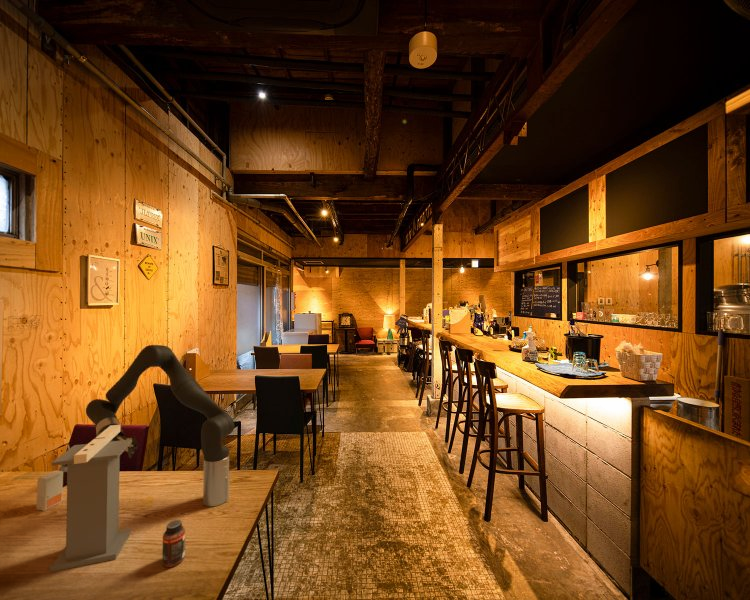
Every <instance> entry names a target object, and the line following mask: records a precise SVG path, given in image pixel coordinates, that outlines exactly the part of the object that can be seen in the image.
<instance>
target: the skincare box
mask: <svg viewBox="0 0 750 600" xmlns="http://www.w3.org/2000/svg"><path fill="white" fill-rule="evenodd" d="M63 488H64V487H63V471H59V470H53V471H51V472H47V473H46V474H44V475H41V476H39V477H37V486H36V510H38V511H47V510H49V509H51V508H52V507H54V506H56V505H59V504H60V503H62V502H63V491H64V489H63Z"/></svg>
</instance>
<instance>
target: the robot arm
mask: <svg viewBox="0 0 750 600" xmlns="http://www.w3.org/2000/svg"><path fill="white" fill-rule="evenodd" d="M149 368H160V369H161V370H162V371H163V372H164V373H165V374H166V375H167V376H168V379H169V384H170V389H171V392H172V394H173V395H174V396H175V398H176V399H177V401H179V402H180V403H181V404H182V405H183V406H185V407H187V408H190V409H191V410H194V411H196V412H199V413H200V414H203V415H204V417H206V418H207V419H206V420H205V421H204V422H203V423H202V426H201V429H200V442H201V452H202V454H203V475H202V476H203V479H202V480H203V482H202V483H203V484H202V485H203V487H202V489H203V490H202V493H203V495H202V503H203V504H202V505H204V506H206V507H217V506H220V505H222V504H225V503H227V501H229V498H228V497H230V474H231V473H230V448H229V446H227V445H225V444H222V440H223V439H224V438H226V437H227V436H229V435H231V434H232V433H233V432H234V429H235V422H234V419H233V418H232V416H231V415H230V414H229V413H228V412H227V411H226V410H225V409H223V408H222V407H221V406H220V405H219V404H218V403H217V402H216V401H214V399H213V398H212V397H211V396H210V395H209V394H208V392H206V391H205V389H204V388H203V387H202V386H201V385H200V384H199V382H198V381H197V380H196V379H195V378H194V377H193V376H192V375H191V374H190V372H189V371H188V370H187V369H186V368H185V367H184V366H183V365H182V363H181V362H180V360H179V359H178V357H177V356H176V355H175V353H174V352H173V350H172V349H171V348H170V347H168V346H166V345H162V344H160V345H159V344H158V345H157V344H151V345H147V346H145V347H143V348H142V350H141V351H140V352H139V353H138V355H137V356H136V357H135V359H134V360H133V361H132V363H131V364H130V365H129V366H128V368H127V370H126V371H125V372H124V373H123V375H122V376H121V377H120V378H119V380H117V382H115V383H114V384H113V386H111V387H110V388H109V389H108V391H106V393H105V399H106V400H105V399H100V398H95V399H93V400H91V401H89V403H87V405H86V408H85V414H86V416H87V418H88V419H89V420H90V421H91V422H92V423H93V424H94V425H95V431H96V432H95V433H96V437H97V436H98V435H100V434H101V433H102V432H103V431H104V430H106V429H107V428H108V427H109V426H111V425H120V432H119V433H118V434H117V435H116V436H115V437H114V438H113V439H112V440H111V441H121V440H130V439H132V443H131V444H130V445H129V446H128V447H127V448H126V449H125V451H124V452H127V454H128V459H133V457H134V455H135V454H136V451H137V449H138V447H139V441H138V440H137V438H136V436H134V435H131V436H130V437H126V436H125V433H124V430H123V427H122V425H121V423H120V422H119V419H118V418H117V417H118V416H117V412H118V411H119V408H120V406H121V405H122V403H123V402H124V400H125V399H126V398H127V397H128V396H129V395H130V394H131V393H132V392H133V391H134V390H135V388H136V387H137V385H138V382H139V378H140V377H141V375H142V374H143V373H144V372H146V371H147V370H148V369H149ZM92 440H93V439H91V440H90V442H91V441H92ZM111 441H110V442H111Z"/></svg>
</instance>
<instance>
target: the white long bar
mask: <svg viewBox="0 0 750 600" xmlns="http://www.w3.org/2000/svg"><path fill="white" fill-rule="evenodd" d="M120 425H121V424H120ZM120 425H111V426H109V427H108V428H107V429H106V430H104V431H103V432H102V433H101V434H100V435H98V436H97V435H96V437H95V438H93V439H91V440H92V441H91V440H90V442H88V443H86V444H87V445H86V446H85V447H84V448H82V449H81V450H80V451H79V452H78V453H76V454H75V455H74V464H78V463H87V462H88V461H89V460H90V459H91V458H92V457H93V456H94V455H95V454H96V453H97V452H99V451H100V450H101V449H102V448H103V447H104V446H105V445H106V444H107V443H108V442H110V441H111V440H112V439H113V438H114V437H115V436H116V435H117V434H118V433H119V432H120Z"/></svg>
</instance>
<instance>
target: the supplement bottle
mask: <svg viewBox="0 0 750 600" xmlns="http://www.w3.org/2000/svg"><path fill="white" fill-rule="evenodd" d="M185 557H186V528H185V526H183V522H182V520H180V519H174V520H172V521H170V522H169V523H167V524H166V530H165V531H164V532H163V534H162V566H164V567H165V568H173V567H175V566H177V565H179V564H180V563H182V562H183V561H184V559H185Z"/></svg>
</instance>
